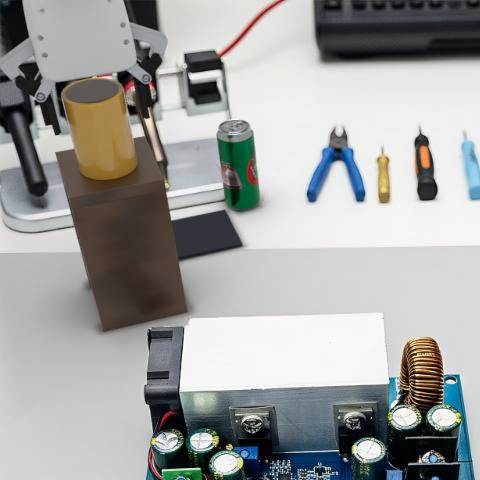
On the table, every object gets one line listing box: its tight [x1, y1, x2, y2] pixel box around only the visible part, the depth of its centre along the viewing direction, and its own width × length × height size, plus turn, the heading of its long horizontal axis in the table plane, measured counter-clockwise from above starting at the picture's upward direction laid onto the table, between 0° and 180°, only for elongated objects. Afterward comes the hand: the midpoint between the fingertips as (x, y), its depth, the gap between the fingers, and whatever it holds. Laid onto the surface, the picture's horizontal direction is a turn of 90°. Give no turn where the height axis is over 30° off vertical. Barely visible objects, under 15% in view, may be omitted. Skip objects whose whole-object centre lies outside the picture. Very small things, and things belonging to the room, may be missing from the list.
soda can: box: [215, 118, 261, 211], centre depth 138 cm, size 5×5×12 cm
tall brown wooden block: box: [54, 135, 188, 332], centre depth 120 cm, size 10×10×19 cm
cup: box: [60, 77, 138, 180], centre depth 110 cm, size 7×7×9 cm
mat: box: [171, 209, 243, 261], centre depth 136 cm, size 9×9×1 cm
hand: (100, 121), depth 109 cm, fingers open, 9 cm apart
